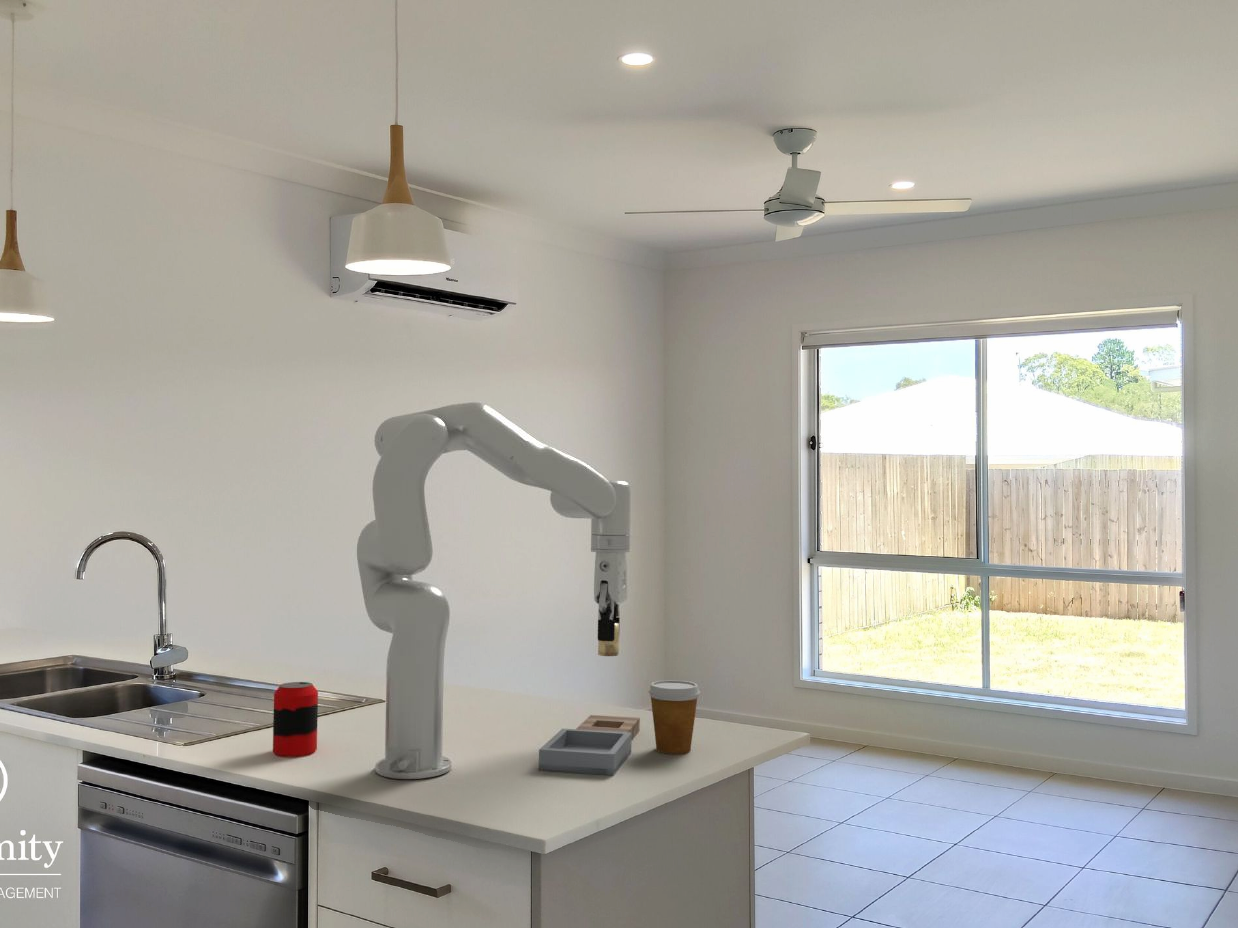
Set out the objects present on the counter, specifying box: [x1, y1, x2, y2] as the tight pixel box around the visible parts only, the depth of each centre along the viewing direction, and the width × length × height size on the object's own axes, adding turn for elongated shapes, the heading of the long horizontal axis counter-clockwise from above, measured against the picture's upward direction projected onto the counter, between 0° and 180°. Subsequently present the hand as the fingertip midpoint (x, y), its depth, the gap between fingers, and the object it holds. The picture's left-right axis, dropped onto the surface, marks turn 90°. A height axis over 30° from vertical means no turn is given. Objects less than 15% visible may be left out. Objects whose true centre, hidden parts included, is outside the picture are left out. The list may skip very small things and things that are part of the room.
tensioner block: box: [575, 714, 641, 741], centre depth 201 cm, size 14×10×2 cm
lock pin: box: [597, 623, 620, 657], centre depth 201 cm, size 4×4×6 cm
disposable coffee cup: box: [647, 679, 701, 755], centre depth 192 cm, size 10×10×12 cm
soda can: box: [272, 681, 319, 758], centre depth 187 cm, size 8×8×12 cm
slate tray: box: [538, 728, 633, 776], centre depth 183 cm, size 16×13×4 cm
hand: (608, 638), depth 201 cm, fingers closed on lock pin, 4 cm apart
